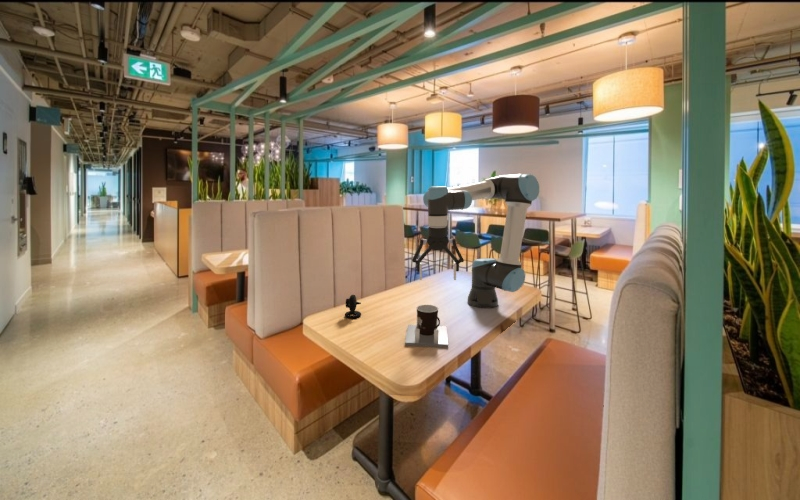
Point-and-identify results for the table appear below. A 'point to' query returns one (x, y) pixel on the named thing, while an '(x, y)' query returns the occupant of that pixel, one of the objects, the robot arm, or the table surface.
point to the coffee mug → (427, 319)
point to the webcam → (352, 307)
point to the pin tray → (426, 337)
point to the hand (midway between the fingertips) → (437, 279)
